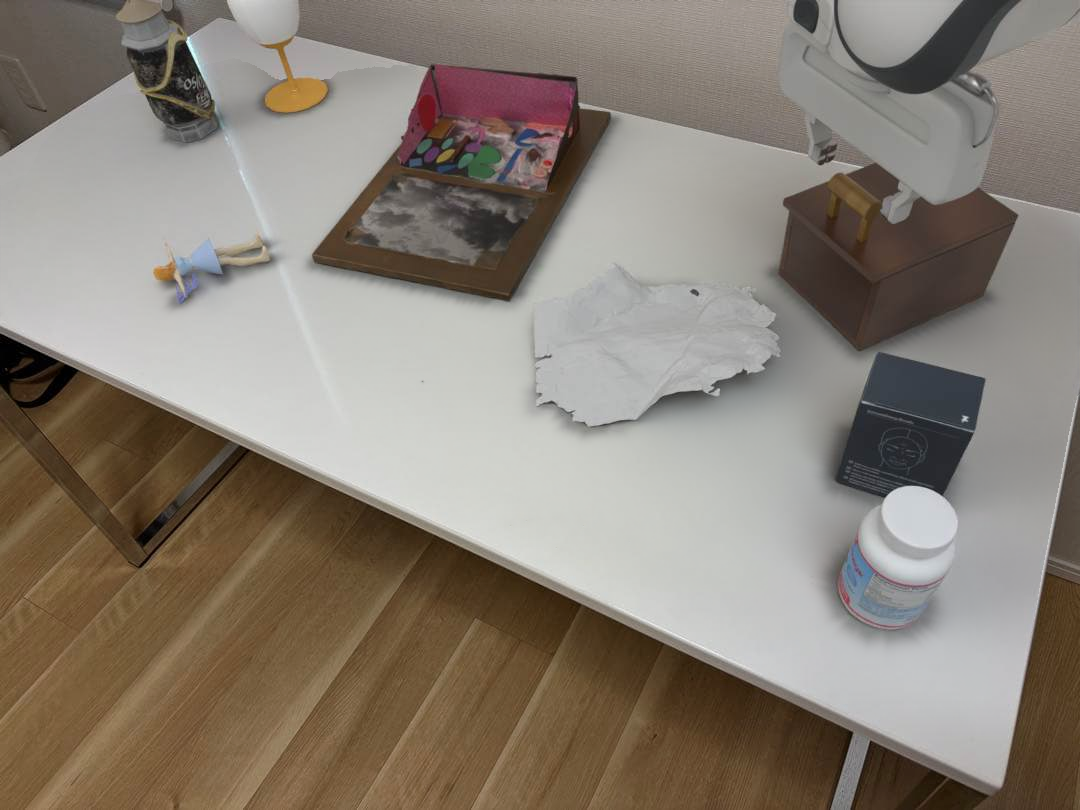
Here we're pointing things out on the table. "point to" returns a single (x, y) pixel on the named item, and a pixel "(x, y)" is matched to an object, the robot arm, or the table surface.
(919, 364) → the box
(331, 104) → the table surface
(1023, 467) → the table surface
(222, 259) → the fairy figurine
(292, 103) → the cup
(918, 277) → the chest
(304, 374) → the table surface
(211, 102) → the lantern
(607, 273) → the paper
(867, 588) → the pill bottle
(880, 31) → the robot arm
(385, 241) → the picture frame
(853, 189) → the chest lid
